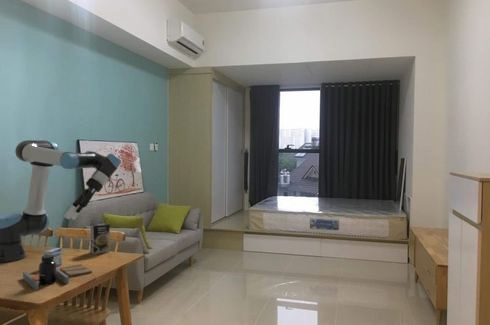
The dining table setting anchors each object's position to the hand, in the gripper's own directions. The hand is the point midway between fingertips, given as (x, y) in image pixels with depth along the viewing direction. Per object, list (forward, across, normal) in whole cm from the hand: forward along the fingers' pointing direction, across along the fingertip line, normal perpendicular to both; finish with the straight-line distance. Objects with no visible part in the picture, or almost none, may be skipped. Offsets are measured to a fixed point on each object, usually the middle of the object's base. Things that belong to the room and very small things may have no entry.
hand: (68, 218), depth 182 cm
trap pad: (+28, +8, -8) cm, 30 cm away
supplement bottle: (+28, -1, -10) cm, 30 cm away
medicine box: (+22, +23, -12) cm, 34 cm away
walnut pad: (+18, +9, -20) cm, 28 cm away
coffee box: (+3, +39, -32) cm, 50 cm away
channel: (+28, +2, -9) cm, 29 cm away
